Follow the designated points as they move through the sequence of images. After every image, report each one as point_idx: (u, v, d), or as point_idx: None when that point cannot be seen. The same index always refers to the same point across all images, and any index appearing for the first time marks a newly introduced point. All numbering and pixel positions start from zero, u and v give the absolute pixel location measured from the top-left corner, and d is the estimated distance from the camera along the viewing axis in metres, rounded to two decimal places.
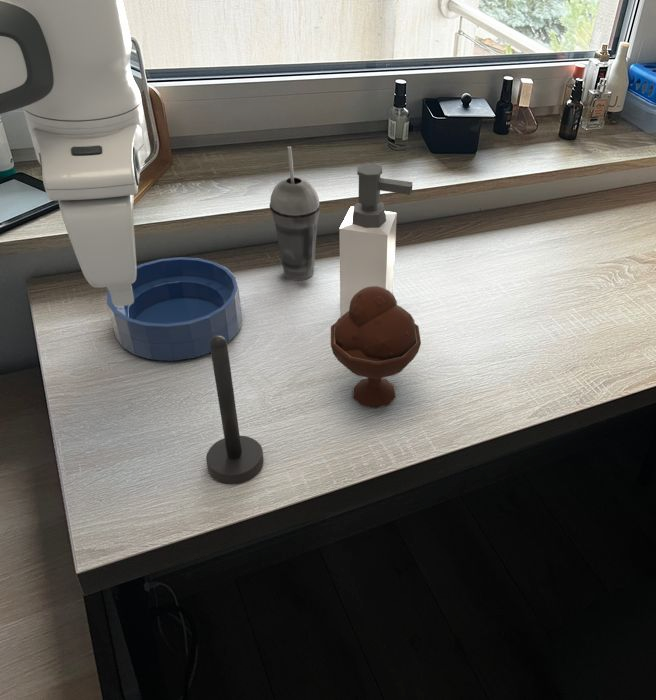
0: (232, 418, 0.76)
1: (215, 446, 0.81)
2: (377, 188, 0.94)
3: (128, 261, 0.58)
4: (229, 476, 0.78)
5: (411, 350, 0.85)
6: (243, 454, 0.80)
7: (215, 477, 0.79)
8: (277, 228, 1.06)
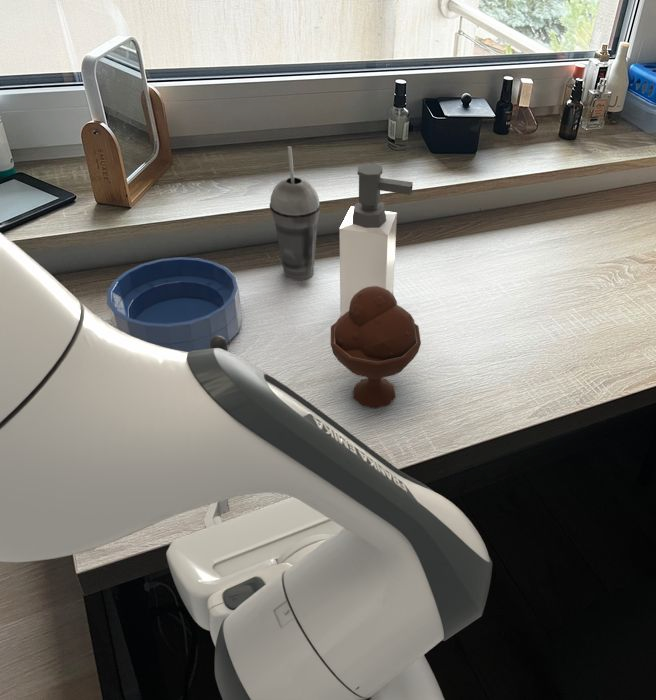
0: None
1: None
2: (377, 188, 0.94)
3: None
4: None
5: (411, 350, 0.85)
6: None
7: None
8: (277, 228, 1.06)
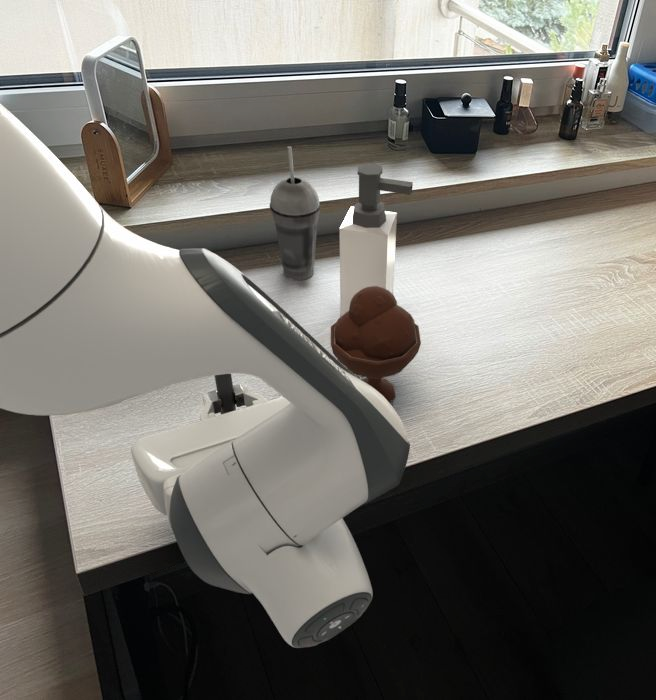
0: None
1: None
2: (377, 188, 0.94)
3: None
4: None
5: (411, 350, 0.85)
6: None
7: None
8: (277, 228, 1.06)
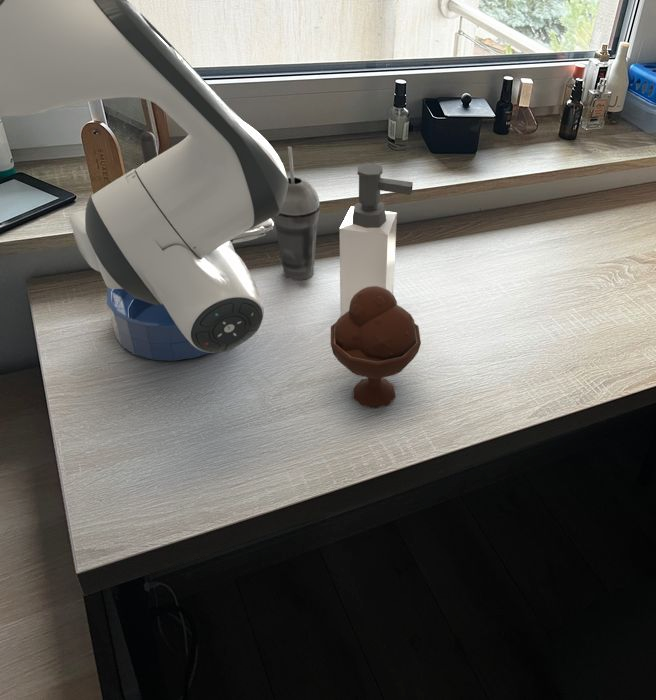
0: None
1: None
2: (377, 188, 0.94)
3: (79, 249, 0.79)
4: None
5: (411, 350, 0.85)
6: None
7: None
8: (277, 228, 1.06)
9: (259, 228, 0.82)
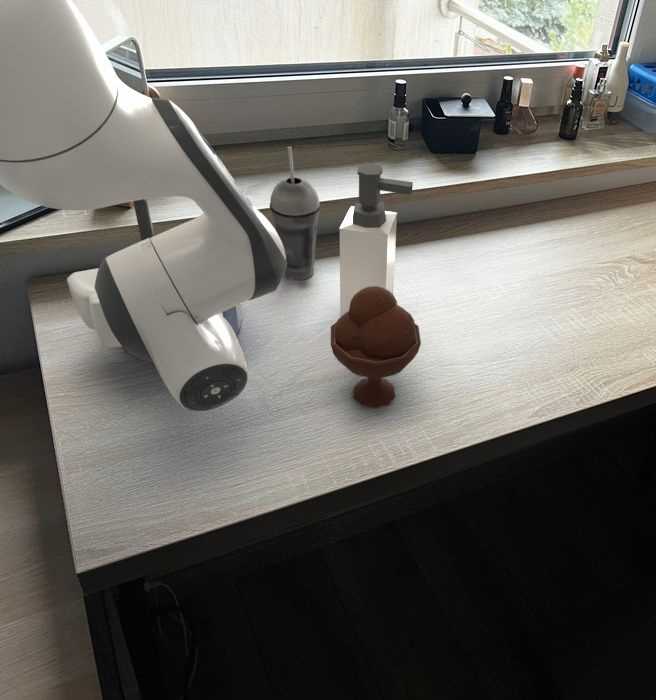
0: None
1: None
2: (377, 188, 0.94)
3: (75, 307, 0.84)
4: None
5: (411, 350, 0.85)
6: None
7: None
8: (277, 228, 1.06)
9: None
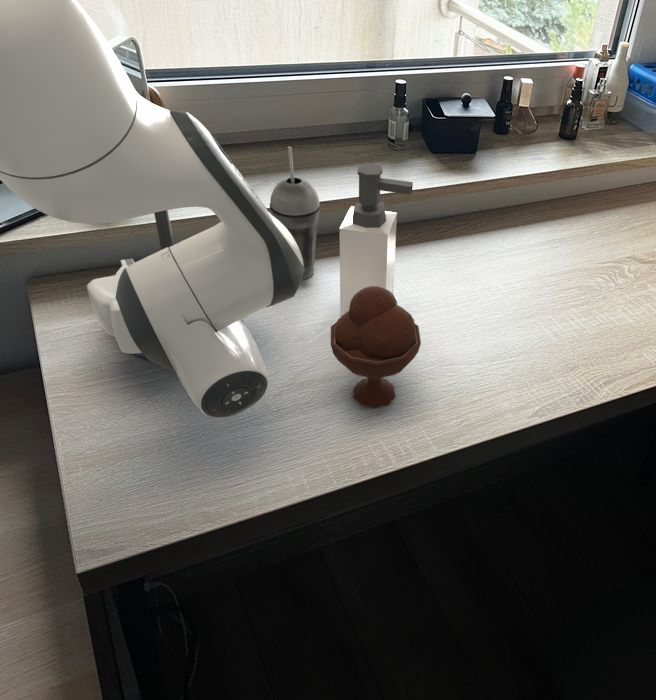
0: None
1: None
2: (377, 188, 0.94)
3: (95, 314, 0.85)
4: None
5: (411, 350, 0.85)
6: None
7: None
8: None
9: None
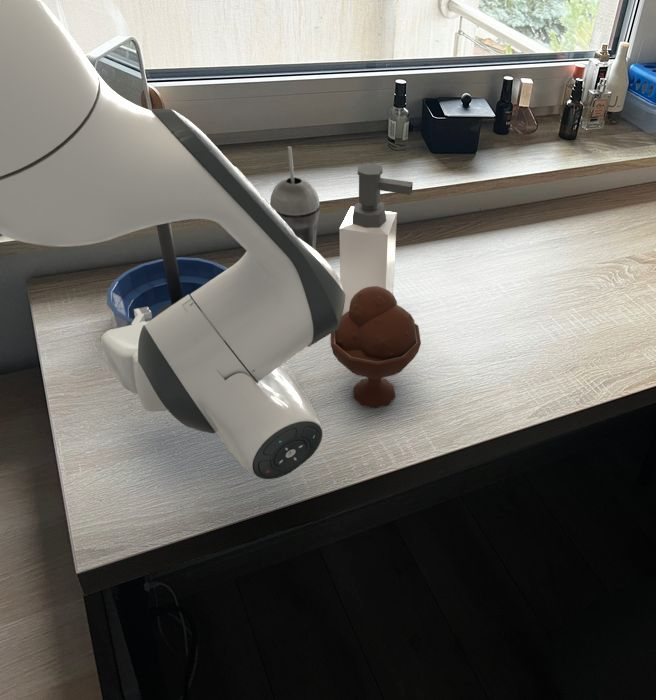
0: (175, 278, 0.94)
1: (164, 308, 0.99)
2: (377, 188, 0.94)
3: (110, 369, 0.75)
4: None
5: (411, 350, 0.85)
6: None
7: None
8: None
9: None
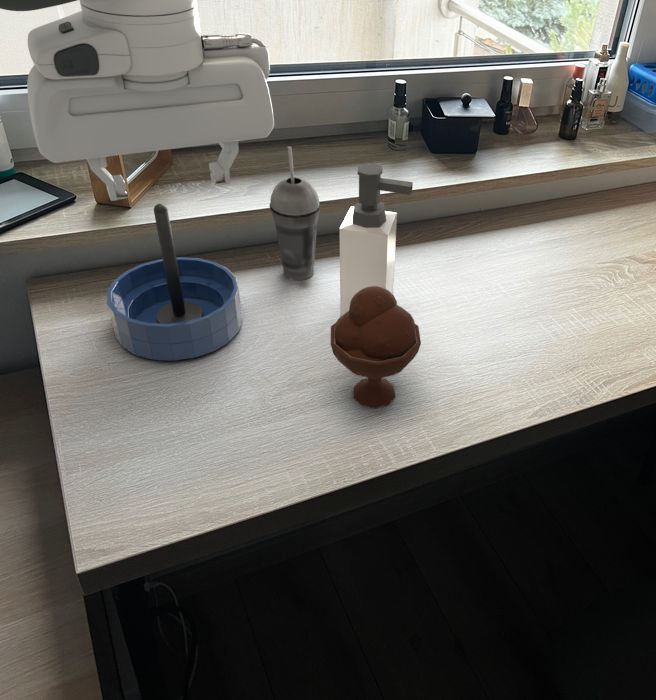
0: (175, 278, 0.94)
1: (164, 308, 0.99)
2: (377, 188, 0.94)
3: (36, 134, 0.59)
4: None
5: (411, 350, 0.85)
6: (186, 313, 0.98)
7: None
8: (277, 228, 1.06)
9: None
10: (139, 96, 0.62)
